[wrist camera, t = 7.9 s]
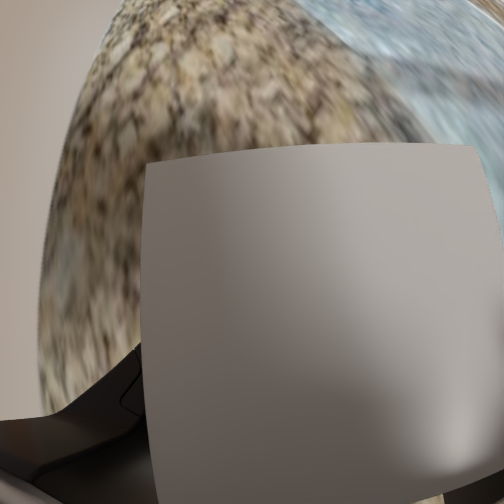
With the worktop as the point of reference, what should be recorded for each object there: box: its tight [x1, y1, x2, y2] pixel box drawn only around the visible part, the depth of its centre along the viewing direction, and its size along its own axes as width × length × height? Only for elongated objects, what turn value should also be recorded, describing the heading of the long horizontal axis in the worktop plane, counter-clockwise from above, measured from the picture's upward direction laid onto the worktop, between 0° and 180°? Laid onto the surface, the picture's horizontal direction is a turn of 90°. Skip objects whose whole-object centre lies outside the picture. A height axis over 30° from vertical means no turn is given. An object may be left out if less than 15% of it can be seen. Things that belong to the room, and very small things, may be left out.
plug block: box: [140, 143, 504, 504], centre depth 9 cm, size 5×5×12 cm
